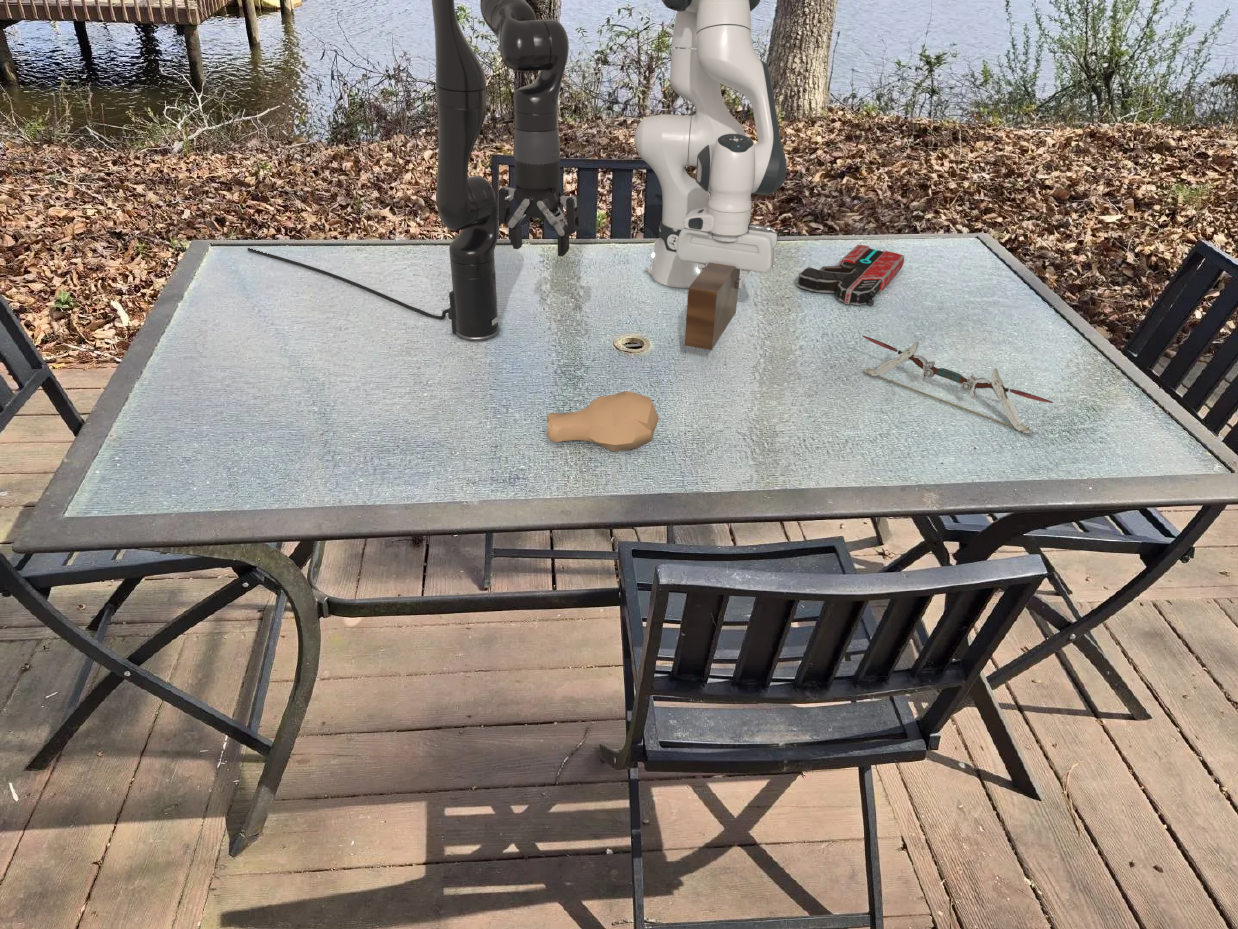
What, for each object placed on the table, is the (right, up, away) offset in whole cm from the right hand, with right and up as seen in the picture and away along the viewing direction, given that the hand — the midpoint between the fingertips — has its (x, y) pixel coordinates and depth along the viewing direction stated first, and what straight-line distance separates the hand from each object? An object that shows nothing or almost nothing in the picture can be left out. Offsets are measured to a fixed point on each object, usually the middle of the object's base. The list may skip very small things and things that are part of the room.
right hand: (721, 285), depth 185 cm
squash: (-25, -34, -28) cm, 51 cm away
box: (-2, -9, -1) cm, 10 cm away
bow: (+42, -26, -13) cm, 51 cm away
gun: (+38, +9, +38) cm, 54 cm away
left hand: (-36, -1, -32) cm, 48 cm away
